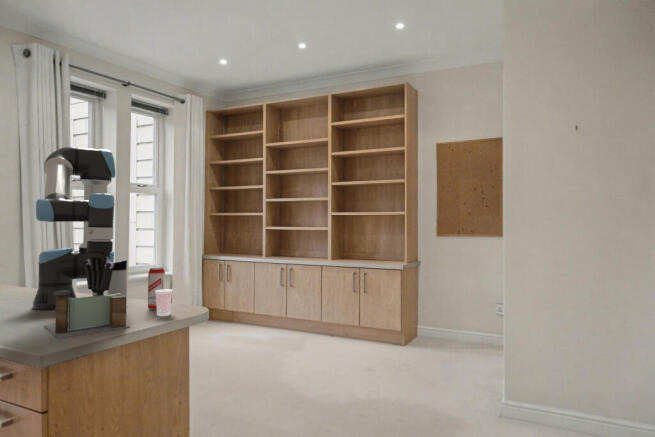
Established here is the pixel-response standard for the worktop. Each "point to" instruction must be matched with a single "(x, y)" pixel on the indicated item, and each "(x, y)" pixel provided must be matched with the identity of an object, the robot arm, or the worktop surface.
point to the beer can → (154, 285)
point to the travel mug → (119, 280)
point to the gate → (89, 311)
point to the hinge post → (61, 311)
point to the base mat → (82, 330)
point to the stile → (117, 311)
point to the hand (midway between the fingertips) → (97, 311)
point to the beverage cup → (163, 300)
